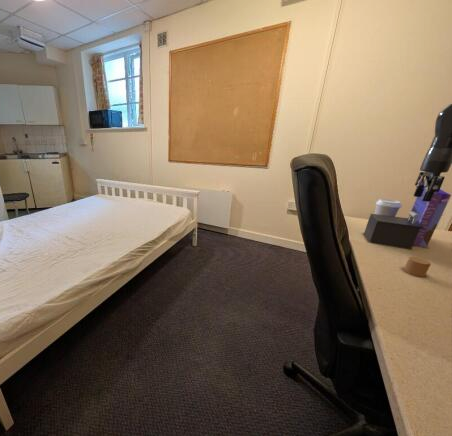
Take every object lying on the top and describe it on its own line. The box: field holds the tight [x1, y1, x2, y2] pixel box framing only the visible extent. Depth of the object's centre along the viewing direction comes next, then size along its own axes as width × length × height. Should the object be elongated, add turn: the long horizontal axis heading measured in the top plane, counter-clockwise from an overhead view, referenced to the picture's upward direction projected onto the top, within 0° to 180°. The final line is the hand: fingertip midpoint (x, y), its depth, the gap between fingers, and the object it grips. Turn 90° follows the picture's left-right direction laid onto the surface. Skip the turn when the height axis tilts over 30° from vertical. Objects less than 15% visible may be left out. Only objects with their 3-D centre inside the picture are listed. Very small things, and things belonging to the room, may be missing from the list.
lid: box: [370, 211, 424, 229], centre depth 98 cm, size 14×12×5 cm
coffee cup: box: [374, 198, 403, 217], centre depth 114 cm, size 10×10×15 cm
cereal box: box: [408, 187, 452, 249], centre depth 100 cm, size 17×5×24 cm, turn 143°
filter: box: [403, 256, 432, 277], centre depth 78 cm, size 5×5×5 cm
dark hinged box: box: [363, 214, 420, 250], centre depth 101 cm, size 14×12×10 cm
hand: (421, 198), depth 93 cm, fingers open, 8 cm apart
